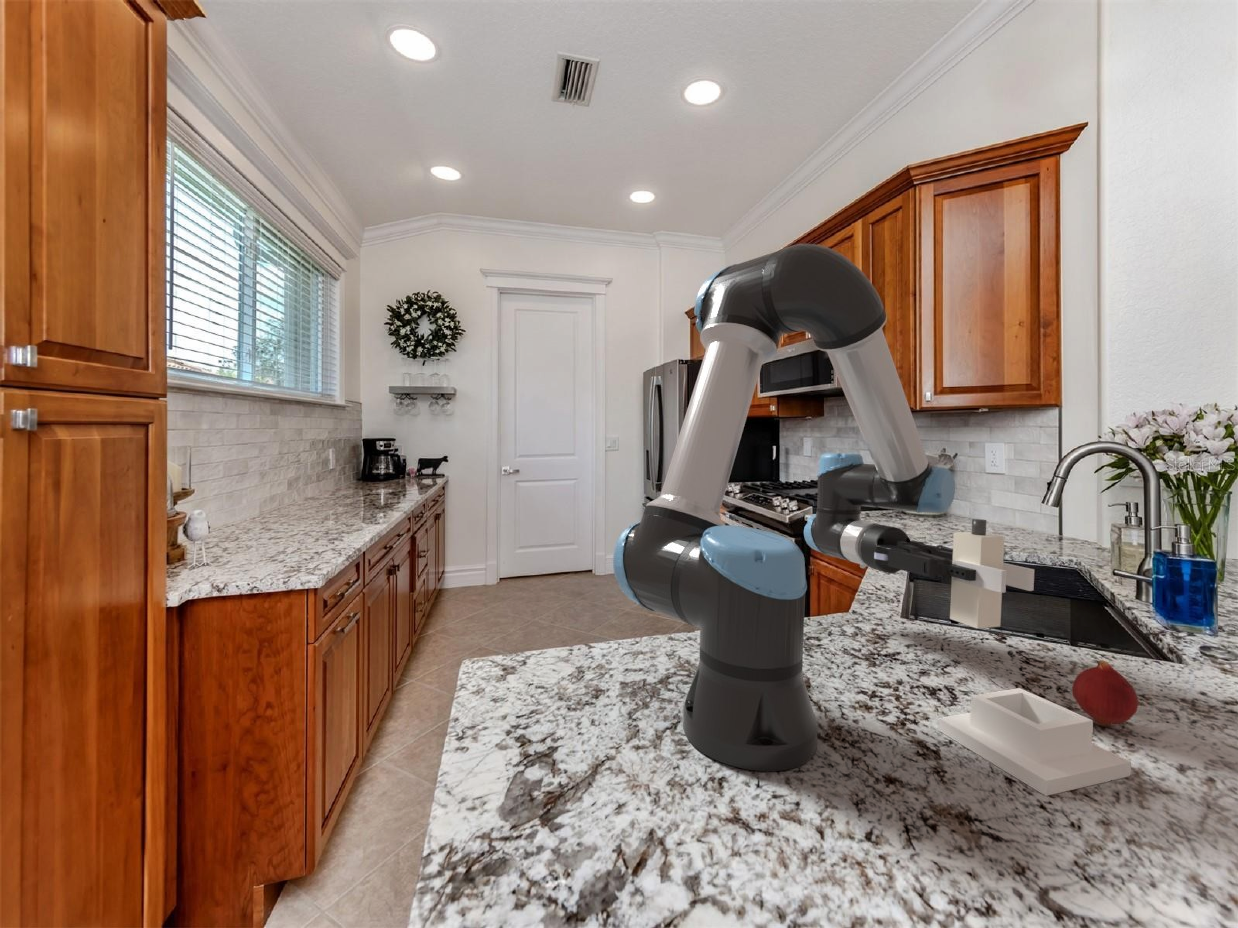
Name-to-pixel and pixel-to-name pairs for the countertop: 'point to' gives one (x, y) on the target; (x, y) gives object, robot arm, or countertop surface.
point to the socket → (1034, 741)
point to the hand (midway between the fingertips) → (1017, 580)
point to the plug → (972, 600)
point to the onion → (1105, 694)
